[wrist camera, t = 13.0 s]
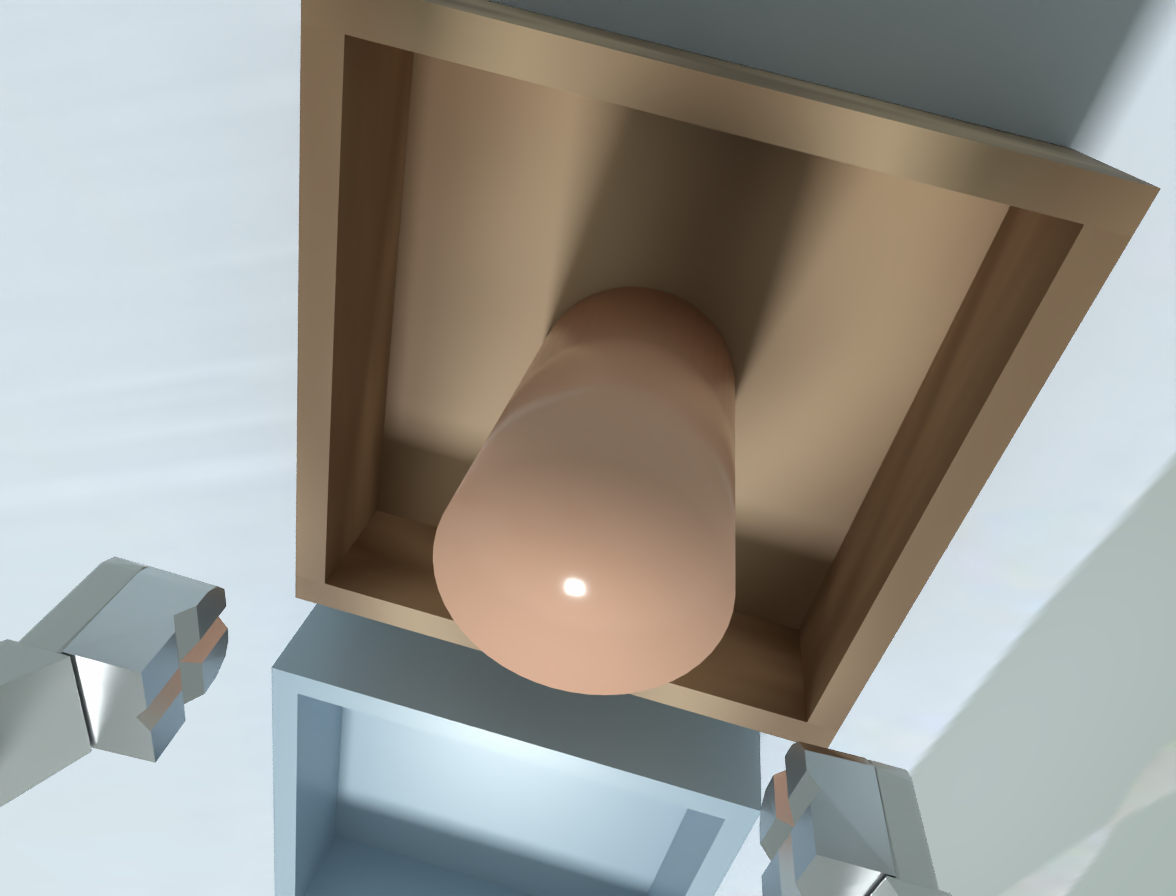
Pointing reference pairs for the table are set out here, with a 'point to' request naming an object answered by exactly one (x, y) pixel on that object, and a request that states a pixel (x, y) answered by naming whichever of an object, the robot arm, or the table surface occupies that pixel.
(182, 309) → the table surface
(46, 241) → the table surface
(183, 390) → the table surface
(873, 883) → the robot arm
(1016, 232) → the tray
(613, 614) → the orange-tan rounded cylinder
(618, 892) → the bin
